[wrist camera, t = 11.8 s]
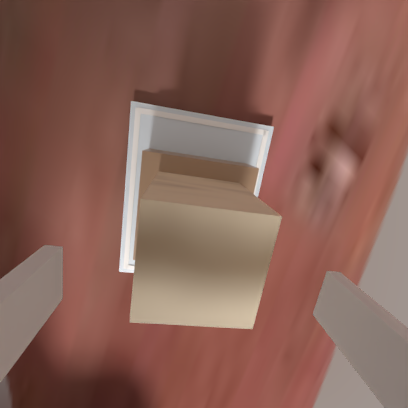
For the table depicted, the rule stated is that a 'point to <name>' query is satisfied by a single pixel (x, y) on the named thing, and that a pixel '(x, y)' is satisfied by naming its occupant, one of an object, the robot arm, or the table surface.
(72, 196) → the table surface
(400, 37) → the table surface
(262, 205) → the maple block
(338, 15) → the table surface
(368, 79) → the table surface
